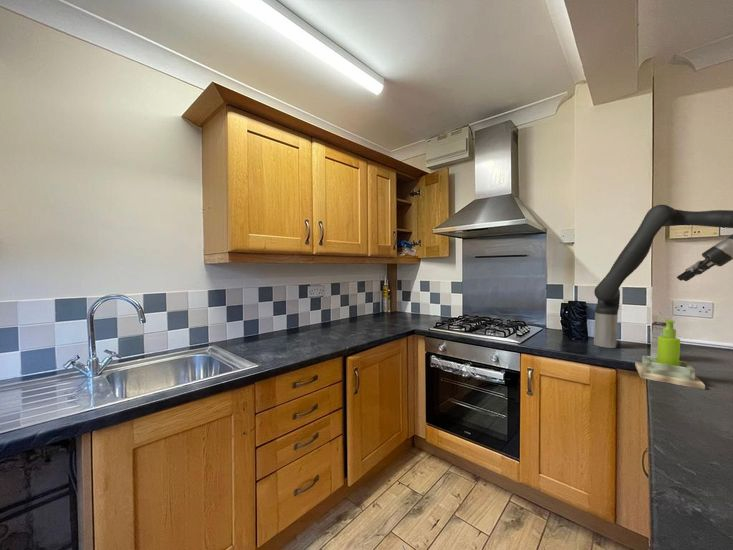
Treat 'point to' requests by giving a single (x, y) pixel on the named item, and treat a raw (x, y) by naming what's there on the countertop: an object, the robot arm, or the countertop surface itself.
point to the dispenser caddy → (668, 372)
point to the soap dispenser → (668, 345)
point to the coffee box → (656, 336)
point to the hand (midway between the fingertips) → (680, 279)
